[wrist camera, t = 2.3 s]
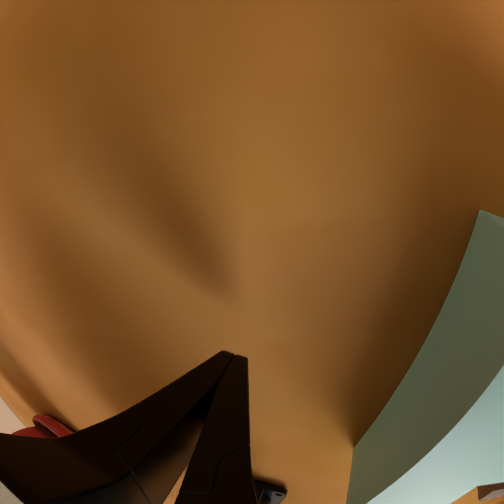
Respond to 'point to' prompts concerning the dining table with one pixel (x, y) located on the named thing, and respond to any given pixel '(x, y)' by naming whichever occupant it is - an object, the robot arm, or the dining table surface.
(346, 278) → the dining table surface
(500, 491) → the dock
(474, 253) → the tee
